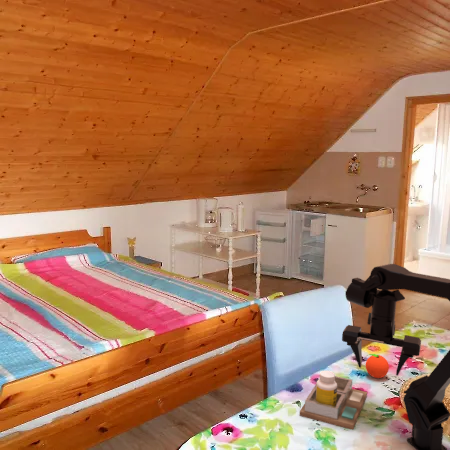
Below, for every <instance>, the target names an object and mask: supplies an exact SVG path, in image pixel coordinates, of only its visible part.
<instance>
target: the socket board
mask: <svg viewBox="0 0 450 450" xmlns="http://www.w3.org/2000/svg"><path fill="white" fill-rule="evenodd" d="M337 390H340V391H344V389H341V388H337ZM367 397H368V392H367V391H363V390H358V389H355V388H352V390H351V392H350V395H349V397H348V399H347V401H346V403H345V405H344V407H343V409H342V411H341V413H340V415H339V417H338V419H337V420H336V419H332V418H328V417H324V416H320V415H316V414H312V413H308V412H305V403H304V404H303V406H302V407H301V408H300V409H299V416H300V417H305V418H307V419H311V420H315V421H319V422H323V423H327V424H331V425H335V426H338V427H342V428H346V429H350V430H354V428H355V427H356V425H357V421H358V419H359V417H360V414H361V412H362V409H363V407H364V404H365V402H366V399H367ZM314 402H316V399H315V401H314ZM336 405H337V404H336Z"/></svg>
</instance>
